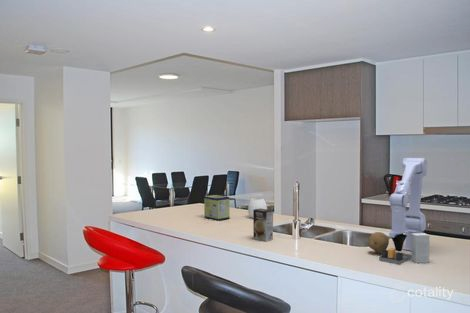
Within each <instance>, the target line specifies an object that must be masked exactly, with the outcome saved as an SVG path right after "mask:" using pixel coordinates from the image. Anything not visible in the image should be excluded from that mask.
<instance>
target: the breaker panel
mask: <svg viewBox="0 0 470 313" xmlns="http://www.w3.org/2000/svg"><path fill="white" fill-rule="evenodd" d="M379 260H380V262H386V263H390V264H394V263H395V264H396V265H399V264H400V265H402V264H404V263H405V262H408V261H409V260H412V253H411V254H410V253H405V252H401V251H396V257H394V258H389V257H388V249H386V250H383V251H382V253H381V256H379V258H378V261H379ZM403 262H404V263H403ZM401 263H402V264H401ZM395 264H394V265H395Z"/></svg>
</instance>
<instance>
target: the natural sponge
mask: <svg viewBox="0 0 470 313" xmlns="http://www.w3.org/2000/svg"><path fill="white" fill-rule="evenodd" d="M389 243H390V238H389V237H388V235H387V234H386V233H384V232H381V231H376V232H373V233H372V234H371V235H370V236H369V238H368V241H367V244H368V247H369V248H370V249H371V250H373V251H374V252H375V253H377V254H379V255H380V254H382V251H383V250H388V248H389V247H388V246H389Z"/></svg>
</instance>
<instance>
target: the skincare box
mask: <svg viewBox="0 0 470 313" xmlns="http://www.w3.org/2000/svg"><path fill="white" fill-rule="evenodd" d="M411 239H412V251H411V255H412V259H411V261H412V262H414V263H415V264H427V263H430V234H427V233H425V232H423V233H412V234H411Z"/></svg>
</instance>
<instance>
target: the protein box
mask: <svg viewBox="0 0 470 313" xmlns="http://www.w3.org/2000/svg"><path fill="white" fill-rule="evenodd" d="M203 197H204V198H203V200H204V201H203V203H204V205H203V206H204V207H203V208H204V209H203V210H204V214H203V215H204V219H207V220H211V221H216V222H220V221H225V220H230V217H231V216H230V214H231V213H230V196H225V195H219V194H218V195H217V194H212V195H204V196H203Z"/></svg>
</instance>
